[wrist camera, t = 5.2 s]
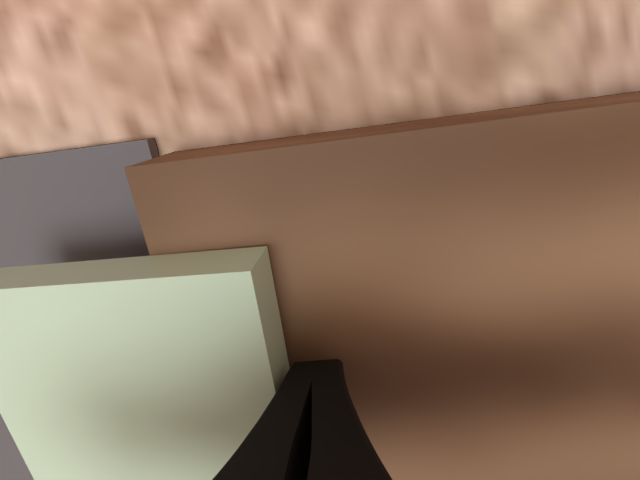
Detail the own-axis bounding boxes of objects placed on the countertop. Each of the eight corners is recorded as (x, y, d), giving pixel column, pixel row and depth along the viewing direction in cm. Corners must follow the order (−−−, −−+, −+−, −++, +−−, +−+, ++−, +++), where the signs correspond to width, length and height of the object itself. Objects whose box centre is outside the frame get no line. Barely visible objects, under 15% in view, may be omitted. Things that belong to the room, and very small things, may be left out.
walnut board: (590, 476, 16) (643, 557, 13) (258, 492, 17) (242, 568, 14) (644, 90, 11) (747, 87, 8) (173, 152, 12) (123, 167, 10)
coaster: (310, 478, 12) (303, 526, 11) (86, 475, 14) (54, 519, 12) (267, 245, 10) (250, 271, 8) (-6, 268, 11) (-61, 293, 10)
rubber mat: (250, 500, 18) (247, 512, 17) (-33, 513, 19) (-43, 524, 18) (154, 137, 12) (146, 139, 12) (-231, 189, 13) (-252, 193, 13)
